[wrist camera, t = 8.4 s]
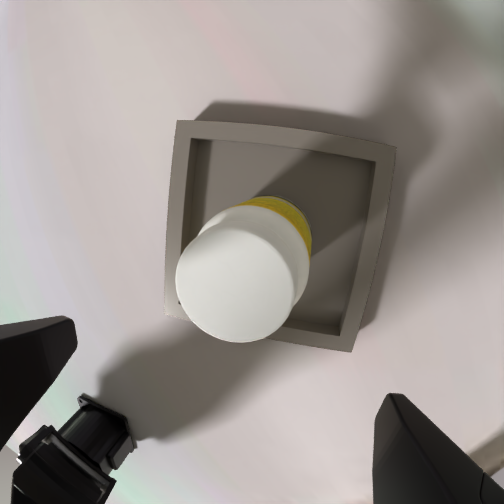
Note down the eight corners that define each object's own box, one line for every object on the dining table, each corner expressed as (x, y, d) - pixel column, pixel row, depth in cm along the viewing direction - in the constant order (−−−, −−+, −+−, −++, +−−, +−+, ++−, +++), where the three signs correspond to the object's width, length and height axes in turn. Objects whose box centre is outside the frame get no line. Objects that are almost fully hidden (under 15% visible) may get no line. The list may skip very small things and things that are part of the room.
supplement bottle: (239, 186, 17) (173, 198, 9) (320, 205, 16) (326, 232, 8) (224, 265, 18) (159, 330, 10) (300, 284, 18) (286, 368, 10)
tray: (175, 303, 21) (164, 314, 19) (189, 124, 17) (176, 120, 16) (349, 337, 19) (351, 352, 17) (388, 149, 15) (396, 147, 14)
